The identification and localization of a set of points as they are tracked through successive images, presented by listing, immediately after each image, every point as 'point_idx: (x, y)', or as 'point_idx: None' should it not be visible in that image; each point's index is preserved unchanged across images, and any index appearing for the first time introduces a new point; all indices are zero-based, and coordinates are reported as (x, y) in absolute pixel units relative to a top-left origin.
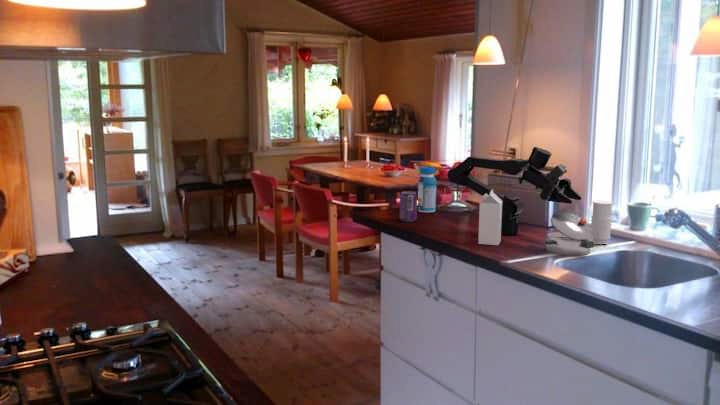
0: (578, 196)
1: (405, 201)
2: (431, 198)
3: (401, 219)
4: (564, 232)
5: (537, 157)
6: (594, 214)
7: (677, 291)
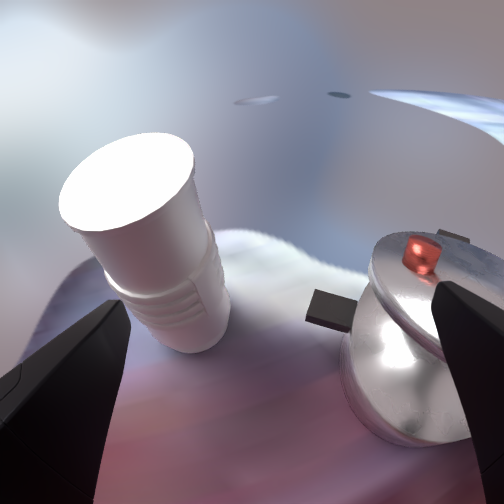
0: (108, 325)
1: None
2: None
3: None
4: None
5: None
6: (190, 259)
7: (466, 114)
